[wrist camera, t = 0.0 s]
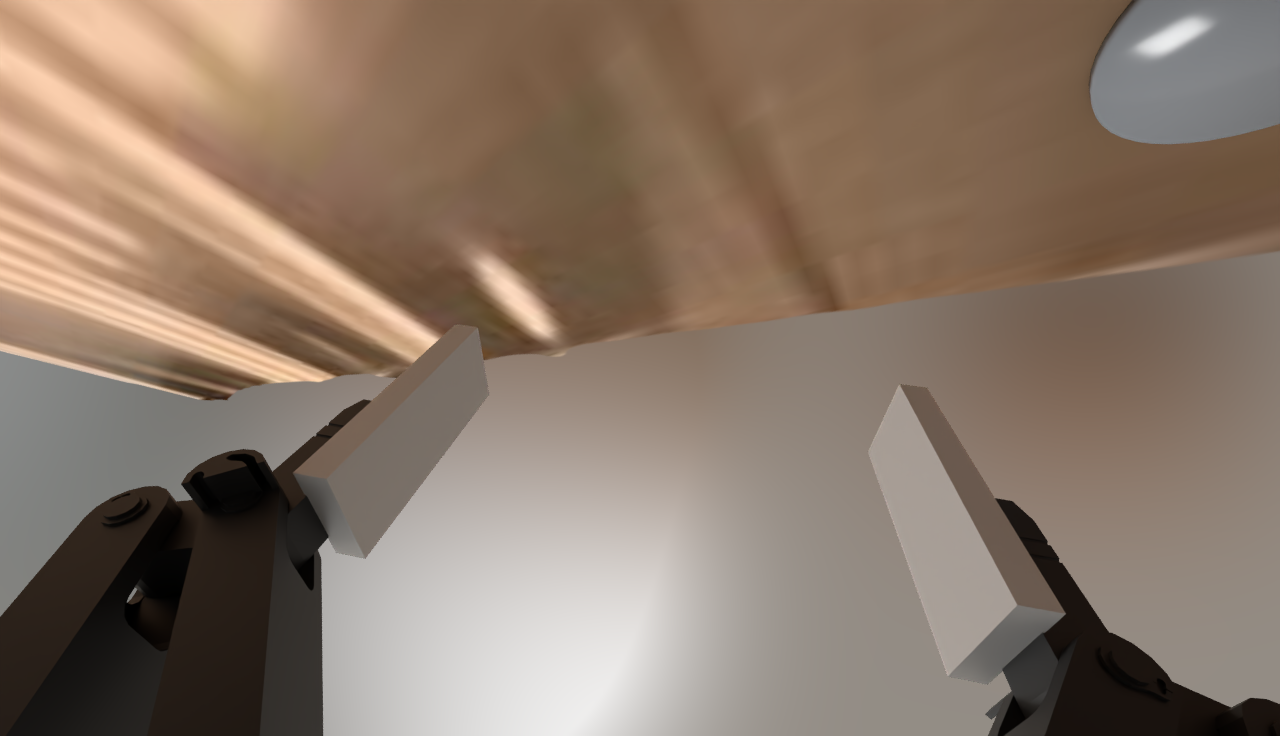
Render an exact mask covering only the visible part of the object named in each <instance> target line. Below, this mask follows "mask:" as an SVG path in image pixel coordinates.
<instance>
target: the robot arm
mask: <svg viewBox="0 0 1280 736" xmlns="http://www.w3.org/2000/svg"><path fill="white" fill-rule="evenodd" d="M488 395H489V390H488V385H487V379H486V373H485V368H484V361H483V355H482V349H481V344H480V338H479V332H478V327H471V326H464V325H457V324H456V325H455V326H453V327H452V328H451V329H450V330H449V331H448V332H447V333H446V334H445V335H444V336H442V337H441V338H440V339H439V340H438V341H437V342H436V343H435V344H434V345H433V346H431V347H430V348H429V349H428V350H427V351H426V352H425V353H424V354H423V355H422V356H421V357H419V358H418V359H417V360H416V361H415V362H414V363H413V364H412V365H411V366H410V367H408V368H407V369H406V370H405V371H404V372H403V373H402V374H401V375H400V376H399V377H397V378H396V379H395V380H394V381H393V382H392V383H391V384H390V385H389V386H388V387H387V388H385V389H384V390H383V391H382V392H381V393H380V394H379V395H378V396H377V397H376V398H374V399H373V400H372V401H370V400H362V401H360V402H358V403H356V404H354V405H352V406H350V407H349V408H346V409H344V410H343V411H342V412H341V413H340V414H339V415H337V416H336V417H335V418H334V419H333V420H331V421H330V422H329V425H328V426H325V427H323V428H322V429H321V430H320V431H319V432H318V433H317V435H316V437H314V436H313V437H312V438H311V439H310V440H309V441H308V442H306V443H305V444H304V445H303V446H302V447H300V448H299V449H298V450H297V451H296V452H295V453H294V454H292V455H291V456H290V457H289V458H288V459H287V460H285V461H284V462H283V463H282V464H281V465H280V466H279V467H277V468H276V469H275V470H274V471H273V472H272V470H271V469H270V467H269V465H268V464H267V462H266V460H265V458H264V457H263V455H262V454H261V453H259V452H257V451H255V450H246V449H242V450H236V451H229V452H226V453H223V454H221V455H217V456H215V457H212V458H210V459H208V460H207V461H205V462H203V463H201V464H199V465H198V466H197V467H195V468H194V469H193V470H192V471H191V472H189V473H188V474H187V475H186V477H185V479H184V480H183V482H182V484H181V485H182V486H183V487H184V489H185V490H186V491H187V492H188V494H189V495H190V496H191V498H192V499H193V500H189V501H179V502H178V501H177V502H176V501H175V499H174V498H173V497H172V496H171V494H170V493H169V492H168V491H167V489H164V488H161V487H159V486H148V487H141V488H138V489H133V490H129V491H126V492H124V493H122V494H119V495H117V496H115V497H112V498H110V499H109V500H107V501H105V502H104V503H102V504H101V505H99V506H97V507H96V508H95V509H94V510H92V512H90V513H89V514H88V515H87V516H86V517H85V518H84V519H83V520H82V521H81V522H80V524H79V525H78V526H77V527H76V528H75V530H74V531H73V532H72V533H71V534H70V535H69V537H68V538H67V539H66V540H65V541H64V543H63V544H62V545H61V546H60V547H59V548H58V550H57V551H56V552H55V553H54V554H53V555H52V557H51V558H50V559H49V560H48V561H47V562H46V564H45V565H44V566H43V567H42V568H41V570H40V571H39V572H38V573H37V574H36V575H35V577H34V578H33V579H32V580H31V581H30V583H29V584H28V585H27V586H26V587H25V588H24V590H23V591H22V592H21V593H20V595H18V597H17V598H16V599H15V600H14V602H13V603H12V604H11V605H10V606H9V607H8V609H7V610H6V611H5V612H4V613H3V615H2V616H1V617H0V736H323V687H322V684H323V682H322V592H321V591H322V589H321V557H320V554H319V552H318V549H319V547H320V546H321V545H322V544H323V543H324V542H325V541H326V539H327V538H329V540H330V542H331V544H332V545H333V548H334V549H335V551H336V553H341V554H345V555H350V556H355V557H360V558H366V557H367V556H368V554H369V553H370V552H371V550H372V549H373V548H374V546H375V545H376V544H377V542H378V541H379V540H380V538H381V537H382V536H383V534H384V533H385V532H386V531H387V529H388V528H389V527H390V525H391V524H392V523H393V521H394V520H395V518H396V517H397V516H398V514H399V513H400V512H401V511H402V509H403V508H404V507H405V505H406V504H407V503H408V501H409V500H410V499H411V497H412V496H413V495H414V493H415V492H416V490H417V489H418V488H419V487H420V485H421V484H422V483H423V482H424V480H425V479H426V478H427V476H428V475H429V474H430V472H431V471H432V470H433V468H434V467H435V466H436V464H437V463H438V462H439V460H440V459H441V458H442V456H443V455H444V454H445V452H446V451H447V450H448V448H449V447H450V446H451V444H452V443H453V442H454V440H455V439H456V438H457V436H458V435H459V434H460V433H461V431H462V430H463V429H464V427H465V426H466V425H467V423H468V422H469V421H470V419H471V418H472V417H473V415H474V414H475V413H476V411H477V410H478V409H479V407H480V406H481V405H482V403H483V402H484V401H485V399H486V398H487V397H488ZM868 453H869V456H870V459H871V462H872V465H873V467H874V470H875V473H876V476H877V479H878V481H879V485H880V487H881V490H882V493H883V496H884V499H885V501H886V504H887V507H888V510H889V513H890V515H891V518H892V521H893V524H894V527H895V530H896V532H897V535H898V538H899V541H900V544H901V546H902V549H903V552H904V555H905V557H906V560H907V563H908V566H909V569H910V571H911V574H912V577H913V580H914V583H915V586H916V589H917V591H918V594H919V597H920V600H921V603H922V605H923V608H924V611H925V614H926V617H927V619H928V622H929V625H930V628H931V631H932V634H933V636H934V639H935V642H936V645H937V648H938V650H939V653H940V656H941V659H942V662H943V664H944V667H945V670H946V673H947V676H948V677H953V678H958V679H963V680H968V681H973V682H978V683H982V684H989V683H990V682H991V681H992V680H993V679H994V678H995V677H996V676H998V675H999V674H1000V673H1001V672H1002V671H1003V672H1004V674H1005V676H1006V679H1007V681H1008V683H1009V685H1010V687H1011V690H1012V691H1011V692H1010V693H1009V694H1008V695H1007V696H1005V697H1004V698H1003V699H1002V700H1000V701H999V702H998V703H997V704H996V705H995V706H993V707H992V708H991V709H990V710H989V711H988V712H987V713H986V715H987V716H988V717H989V718H990V719H992V718H994V717H995V716H996V715H997V716H996V718H995V721H994V723H993V726H992V728H991V730H990V733H989V735H988V736H1280V704H1278V703H1275V702H1272V701H1270V700H1267V699H1258V698H1249V699H1247V700H1245V701H1243V702H1241V703H1239V704H1237V705H1236V706H1234V707H1232V708H1231V707H1228V706H1226V705H1224V704H1221V703H1219V702H1217V701H1214V700H1212V699H1210V698H1208V697H1206V696H1203V695H1201V694H1199V693H1197V692H1194V691H1192V690H1190V689H1187V688H1185V687H1183V686H1181V685H1179V684H1176V683H1174V682H1172V681H1171V680H1170V678H1169V676H1168V675H1167V673H1165V672H1164V670H1163V669H1162V668H1161V667H1160V666H1159V665H1158V664H1157V663H1156V662H1155V661H1154V660H1153V659H1152V658H1151V657H1150V656H1149V655H1147V654H1146V653H1145V652H1143V651H1142V650H1141V649H1139V648H1138V647H1137V646H1135V645H1134V644H1132V643H1131V642H1129V641H1127V640H1125V639H1123V638H1121V637H1119V636H1117V635H1115V634H1113V633H1109V632H1108V630H1107V629H1106V628H1105V626H1104V625H1103V623H1102V622H1101V620H1100V619H1099V617H1098V616H1097V614H1096V613H1095V611H1094V610H1093V608H1092V607H1091V605H1090V604H1089V602H1088V601H1087V599H1086V598H1085V596H1084V595H1083V593H1082V592H1081V590H1080V589H1079V587H1078V586H1077V584H1076V583H1075V581H1074V580H1073V578H1072V577H1071V575H1070V574H1069V573H1068V571H1067V569H1066V568H1065V566H1064V565H1063V564H1062V563H1060V562H1059V558H1058V556H1057V554H1056V553H1055V552H1054V550H1053V549H1052V547H1051V546H1050V545H1048V544H1047V540H1046V538H1045V537H1044V535H1043V534H1042V532H1041V531H1040V529H1039V528H1038V526H1037V525H1036V523H1035V522H1034V521H1033V519H1031V518H1030V517H1029V516H1028V515H1027V514H1026V513H1025V512H1024V511H1023V510H1021V509H1020V508H1019V507H1018V506H1017V505H1016V504H1015V503H1014V502H1012V501H1008V500H1002V499H996V498H994V496H993V494H992V493H991V491H990V490H989V488H988V486H987V485H986V483H985V482H984V480H983V478H982V477H981V475H980V473H979V472H978V470H977V468H976V467H975V465H974V464H973V462H972V460H971V459H970V457H969V455H968V454H967V452H966V450H965V449H964V447H963V446H962V444H961V442H960V441H959V439H958V437H957V436H956V434H955V433H954V431H953V429H952V428H951V426H950V425H949V423H948V421H947V420H946V418H945V416H944V415H943V413H942V412H941V410H940V408H939V407H938V405H937V403H936V402H935V400H934V398H933V397H932V395H931V394H930V392H929V390H928V389H927V388H925V387H917V386H910V385H902V384H899V387H898V388H897V391H896V393H895V395H894V397H893V399H892V401H891V403H890V406H889V408H888V410H887V412H886V414H885V416H884V419H883V421H882V423H881V425H880V427H879V429H878V432H877V434H876V436H875V438H874V440H873V443H872V444H871V447H870V449H869V451H868ZM134 588H137V591H136V593H135V594H134V596H133V597H132V599H131V600H130V601H129V602H128V603H127V600H128V597H129V595H130V594H131V592H132V591H133V589H134Z"/></svg>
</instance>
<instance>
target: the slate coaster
mask: <svg viewBox="0 0 1280 736" xmlns="http://www.w3.org/2000/svg"><path fill="white" fill-rule="evenodd" d="M1089 94H1090V100H1091V104H1092V108H1093V111H1094V113H1095V116H1096V118H1097V119H1098V121H1099V122H1100V123H1101V125H1102V126H1103V127H1105V128H1106V129H1107V130H1109V131H1110V132H1111V133H1113V134H1115V135H1118V136H1120V137H1122V138H1125V139H1129V140H1132V141H1136V142H1144V143H1151V144H1179V143H1193V142H1200V141H1208V140H1215V139H1220V138H1225V137H1230V136H1235V135H1240V134H1244V133H1248V132H1252V131H1256V130H1260V129H1264V128H1267V127H1270V126H1274V125H1277V124H1280V0H1132V2H1131V3H1130V4H1129V5H1128V7H1127V8H1126V9H1125V10H1124V12H1123V13H1122V14H1121V15H1120V17H1119V18H1118V19H1117V21H1116V22H1115V24H1114V25H1113V27H1112V28H1111V30H1110V31H1109V33H1108V34H1107V36H1106V37H1105V39H1104V41H1103V43H1102V45H1101V47H1100V49H1099V51H1098V53H1097V55H1096V57H1095V60H1094V63H1093V66H1092V69H1091V73H1090V79H1089Z"/></svg>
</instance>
